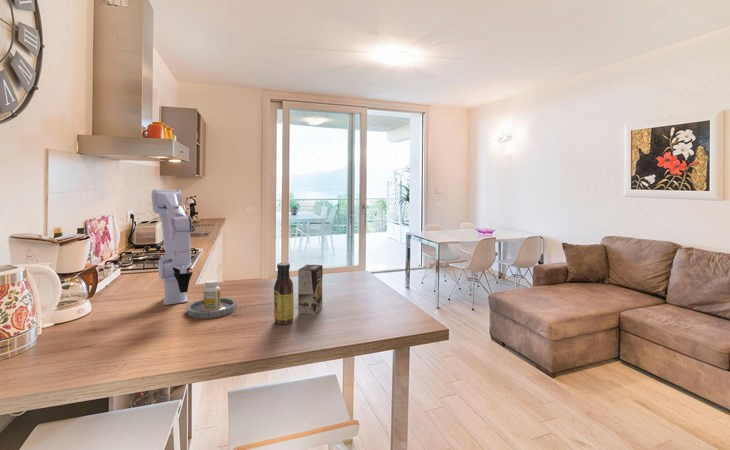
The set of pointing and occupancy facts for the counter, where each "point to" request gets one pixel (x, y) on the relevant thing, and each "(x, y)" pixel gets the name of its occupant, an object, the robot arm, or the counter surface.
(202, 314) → the round tray
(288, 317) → the sauce bottle
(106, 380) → the counter surface
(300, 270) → the coffee box
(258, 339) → the counter surface
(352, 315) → the counter surface
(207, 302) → the supplement bottle
